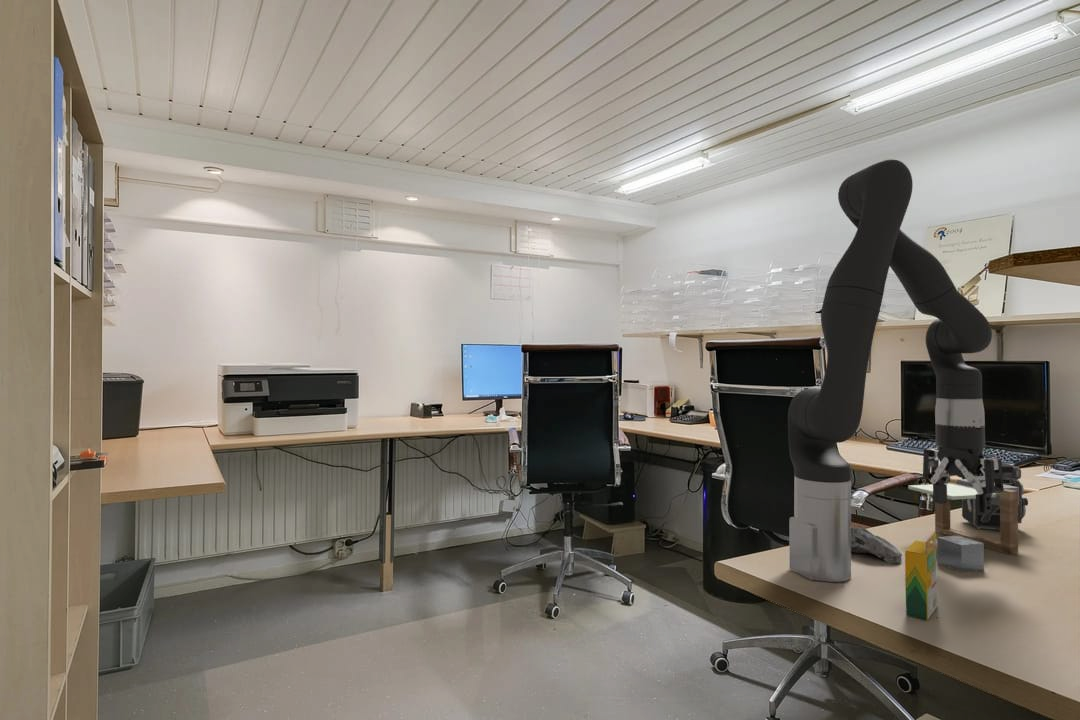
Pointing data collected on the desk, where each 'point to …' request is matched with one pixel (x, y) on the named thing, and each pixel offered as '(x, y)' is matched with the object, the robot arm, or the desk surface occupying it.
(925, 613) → the crayon box
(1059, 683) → the desk surface
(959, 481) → the trapdoor
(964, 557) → the iron cube
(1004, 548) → the frame
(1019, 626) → the desk surface
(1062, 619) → the desk surface
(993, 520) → the camera
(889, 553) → the fossilized seashell
